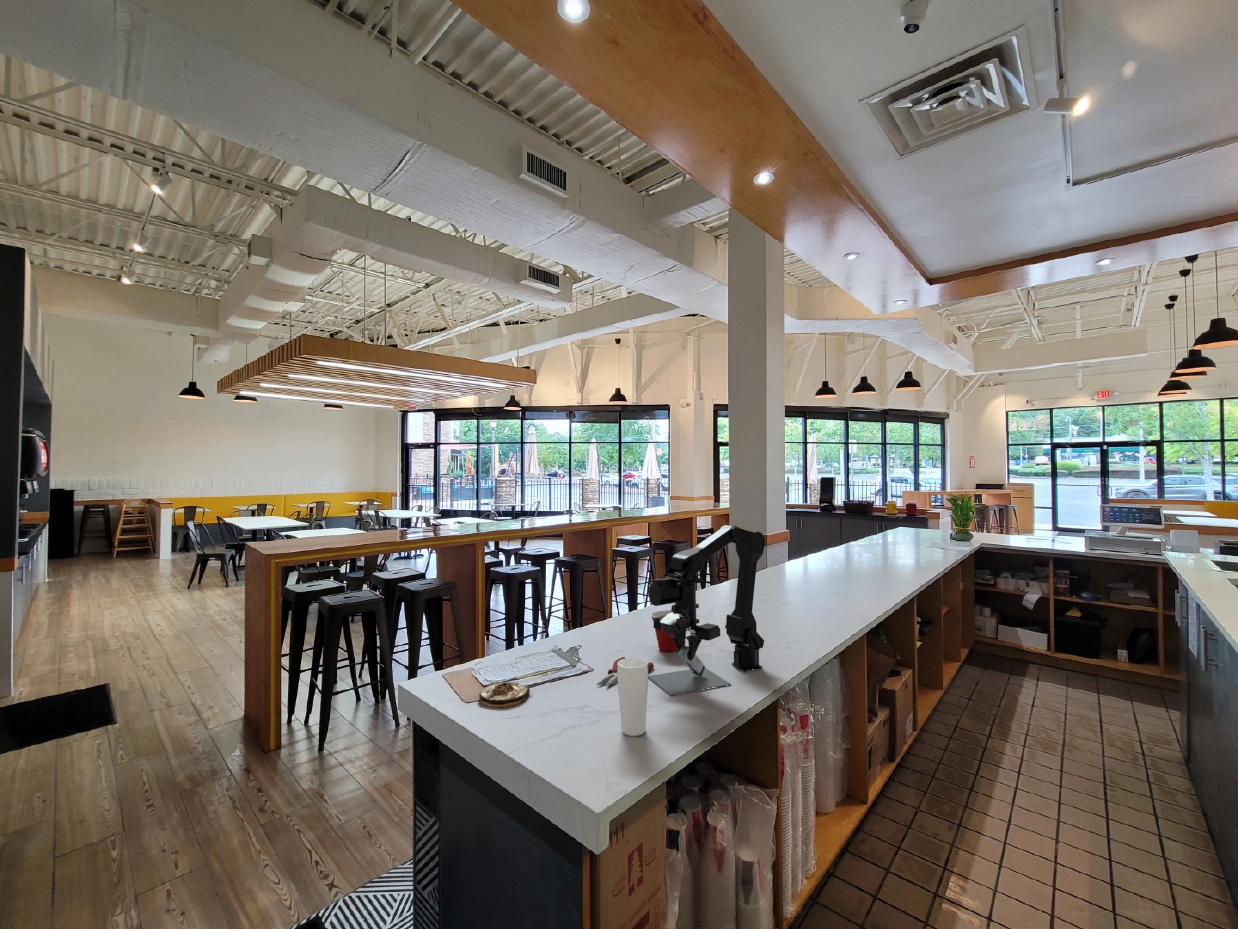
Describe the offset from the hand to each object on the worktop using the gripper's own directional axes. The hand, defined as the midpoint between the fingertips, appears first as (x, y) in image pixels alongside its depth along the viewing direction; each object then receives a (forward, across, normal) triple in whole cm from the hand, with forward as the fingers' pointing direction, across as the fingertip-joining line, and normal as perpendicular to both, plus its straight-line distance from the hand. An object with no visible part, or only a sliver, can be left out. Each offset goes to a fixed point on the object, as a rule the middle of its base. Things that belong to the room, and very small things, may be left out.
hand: (686, 659), depth 146 cm
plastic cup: (+7, -22, +19) cm, 30 cm away
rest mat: (+6, 0, +1) cm, 7 cm away
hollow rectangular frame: (+5, 0, +6) cm, 8 cm away
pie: (+7, -29, -38) cm, 49 cm away
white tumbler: (+7, +8, -30) cm, 32 cm away
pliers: (+7, -19, -7) cm, 21 cm away
